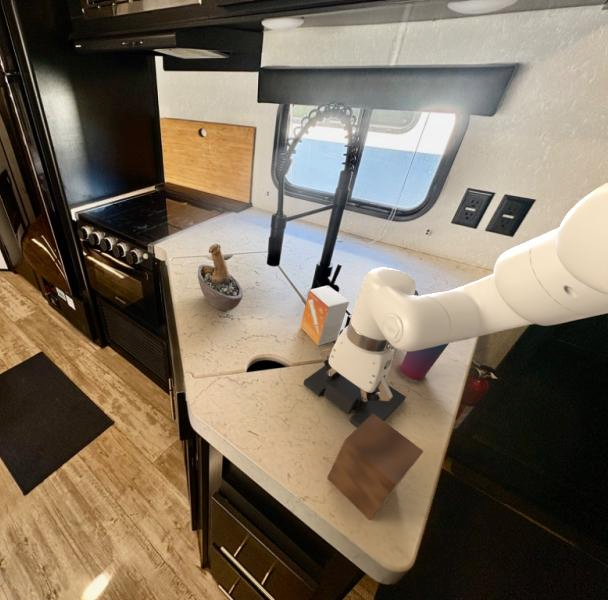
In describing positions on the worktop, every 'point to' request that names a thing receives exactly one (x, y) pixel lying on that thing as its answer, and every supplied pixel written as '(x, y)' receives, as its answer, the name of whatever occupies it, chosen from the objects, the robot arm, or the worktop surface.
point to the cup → (421, 361)
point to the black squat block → (342, 393)
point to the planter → (219, 282)
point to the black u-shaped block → (377, 407)
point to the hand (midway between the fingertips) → (344, 396)
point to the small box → (323, 314)
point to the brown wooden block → (372, 464)
